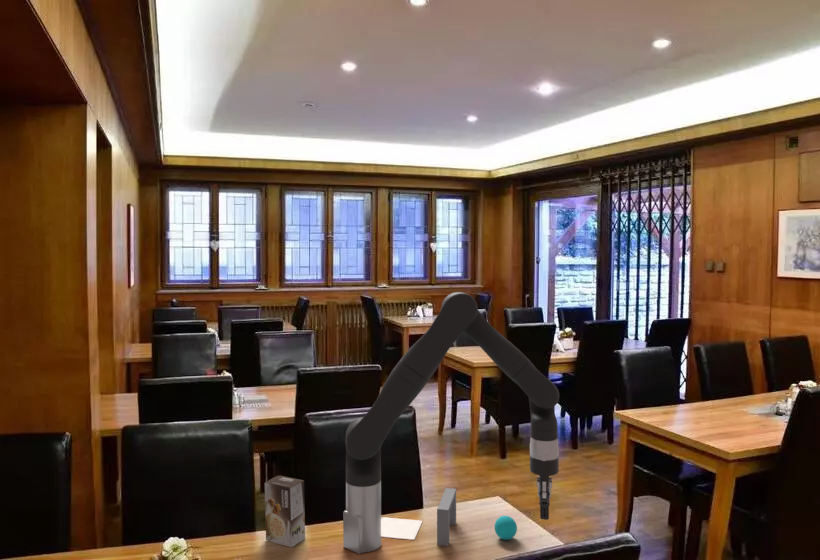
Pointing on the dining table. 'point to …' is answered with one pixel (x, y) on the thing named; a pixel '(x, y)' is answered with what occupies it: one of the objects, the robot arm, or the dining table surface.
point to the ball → (505, 527)
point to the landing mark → (399, 528)
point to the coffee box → (285, 510)
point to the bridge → (446, 516)
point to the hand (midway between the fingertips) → (544, 518)
